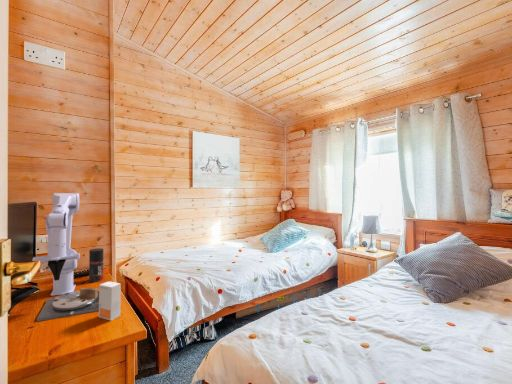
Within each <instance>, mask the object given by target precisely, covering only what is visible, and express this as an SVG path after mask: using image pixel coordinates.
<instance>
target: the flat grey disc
mask: <svg viewBox="0 0 512 384" xmlns="http://www.w3.org/2000/svg"><path fill="white" fill-rule="evenodd" d="M98 291H99V287H82V288H80V289H79V290H74V291H73V292H69V293H65V294H61V295H57V296H55V297H54V298H55V299H54V300H53V309H55V310H59V311H67V310H74V309H79V308H82V307H85V306H88V305H90V304H92V303H93V302H94V301H95V300H96V298H97V297H98Z"/></svg>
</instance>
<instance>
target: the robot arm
mask: <svg viewBox="0 0 512 384" xmlns="http://www.w3.org/2000/svg"><path fill="white" fill-rule="evenodd" d="M51 199H52V200H51V201H52V206H53V207H52V209H51V212H50V213H49V214H47V215H45V229H46V234H47V255H41V256H33V258H32V261H37V260H40V261H41V262H40V263H47V266H48V271H49V272H50V273H51V274H52V284H53V285H52V287H53V288H52V291H51V293H50V296H51V297H53V296H60V295H62V294H65V293H69V292H73V291H75V289H76V286H77V285H76V284H74V270H76V269H77V268H78V260H80V259H81V258H80V257H81V253H80V252H79V253H78V252H77V251H76V250H75V249H73V248H71V245H72V243H71V242H72V241H71V240H72V231H73V230H72V228H73V218H74V216H75V214H76V213H79V210H80V200H81V199H80V193H78V192H75V193H74V192H73V193H72V192H71V193H70V192H68V193H67V192H60V193H59V192H54V193H53V194H52V198H51Z"/></svg>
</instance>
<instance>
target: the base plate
mask: <svg viewBox="0 0 512 384" xmlns="http://www.w3.org/2000/svg"><path fill="white" fill-rule="evenodd" d="M55 298H56V297H50V298H47V300H46V301H45V303H44V305H43V307H42V309H41V310H40V313H39V314H38V316H37V318H36V322H42V321H47V320H53V319H60V318H64V317H65V318H66V317H71V316H77V315H81V314H87V313H93V312H94V313H95V312H99V290H98V297H97V298H96V300H95V301H94V302H93V303H92V304H90V305H88V306H85V307H82V308H79V309H74V310H67V311H59V310H55V309H53V300H54V299H55Z"/></svg>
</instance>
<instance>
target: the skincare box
mask: <svg viewBox="0 0 512 384" xmlns="http://www.w3.org/2000/svg"><path fill="white" fill-rule="evenodd" d="M121 285H122V283H119V282H116V281H115V282H114V281H108V280H107V281H106V282H103V283H100V284H98V291H99V311H98V318H99V319H102V320H108V321H111V322H112V321H113V320H115V319H117V318H119V317H121V303H122V302H121V295H122V294H121V293H122V291H121V289H122V288H121V287H122V286H121Z"/></svg>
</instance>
